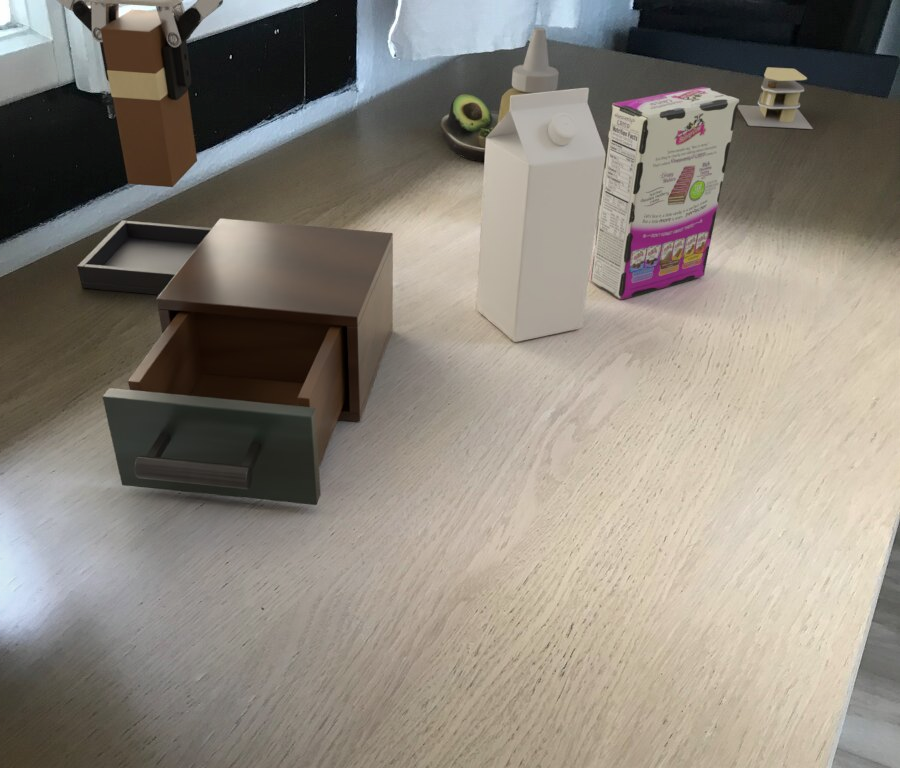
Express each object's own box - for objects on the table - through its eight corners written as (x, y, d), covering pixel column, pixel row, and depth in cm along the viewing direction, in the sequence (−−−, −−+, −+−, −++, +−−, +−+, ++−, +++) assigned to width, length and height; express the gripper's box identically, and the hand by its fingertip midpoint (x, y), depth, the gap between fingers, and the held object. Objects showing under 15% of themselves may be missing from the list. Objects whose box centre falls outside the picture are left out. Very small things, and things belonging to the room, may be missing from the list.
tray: (81, 288, 90) (76, 266, 89) (125, 241, 99) (122, 220, 97) (232, 301, 89) (230, 279, 88) (264, 253, 98) (262, 232, 96)
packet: (127, 184, 86) (99, 28, 78) (155, 157, 91) (131, 9, 83) (173, 187, 85) (149, 31, 77) (198, 160, 91) (178, 12, 83)
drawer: (302, 544, 62) (295, 454, 58) (97, 523, 63) (74, 432, 58) (357, 396, 76) (355, 313, 72) (189, 380, 77) (176, 297, 72)
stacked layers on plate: (735, 105, 143) (744, 63, 140) (797, 108, 143) (807, 66, 140) (748, 125, 136) (758, 82, 132) (813, 129, 136) (824, 86, 132)
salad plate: (566, 118, 135) (570, 81, 132) (611, 161, 122) (617, 122, 119) (429, 122, 131) (430, 85, 128) (461, 167, 119) (463, 127, 116)
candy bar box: (670, 260, 100) (703, 84, 89) (704, 278, 97) (744, 98, 86) (585, 282, 96) (610, 99, 85) (619, 302, 92) (649, 115, 82)
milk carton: (474, 310, 90) (488, 83, 77) (540, 297, 93) (564, 76, 80) (513, 344, 85) (534, 109, 73) (582, 329, 88) (614, 100, 75)
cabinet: (360, 422, 75) (357, 316, 69) (173, 404, 76) (156, 298, 70) (392, 329, 87) (392, 232, 81) (231, 314, 87) (219, 218, 82)
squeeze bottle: (524, 195, 113) (540, 16, 101) (575, 216, 108) (597, 32, 96) (471, 209, 109) (481, 25, 97) (521, 233, 104) (538, 42, 92)
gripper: (-27, -182, 69) (37, 99, 81) (205, -170, 68) (235, 113, 80) (20, -189, 75) (73, 75, 87) (235, -178, 74) (259, 88, 86)
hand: (151, 91), depth 84 cm, fingers closed on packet, 4 cm apart
